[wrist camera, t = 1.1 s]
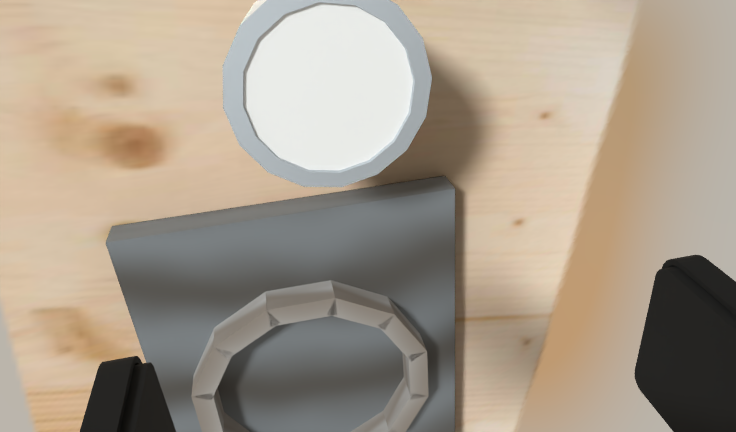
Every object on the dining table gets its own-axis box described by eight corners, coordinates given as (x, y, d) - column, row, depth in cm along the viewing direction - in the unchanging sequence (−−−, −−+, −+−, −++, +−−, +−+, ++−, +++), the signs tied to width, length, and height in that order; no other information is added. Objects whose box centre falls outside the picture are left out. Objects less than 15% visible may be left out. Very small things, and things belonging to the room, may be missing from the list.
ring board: (112, 226, 27) (98, 260, 24) (445, 176, 29) (465, 202, 26) (202, 501, 36) (200, 547, 34) (447, 448, 39) (462, 487, 36)
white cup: (408, -12, 24) (463, 16, 18) (361, 138, 27) (395, 206, 21) (244, -64, 22) (246, -53, 16) (212, 104, 25) (202, 168, 19)
